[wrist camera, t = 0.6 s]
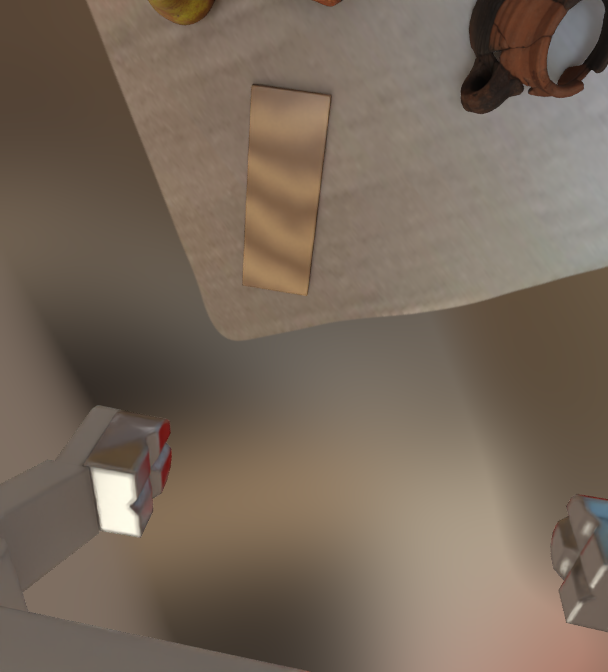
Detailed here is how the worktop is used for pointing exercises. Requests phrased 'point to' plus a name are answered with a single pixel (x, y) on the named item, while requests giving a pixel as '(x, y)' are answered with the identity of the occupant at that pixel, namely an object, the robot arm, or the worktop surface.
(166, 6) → the fruit
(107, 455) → the robot arm
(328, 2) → the battery
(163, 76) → the worktop surface
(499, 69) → the pottery mug
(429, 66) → the worktop surface
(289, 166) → the wooden board
